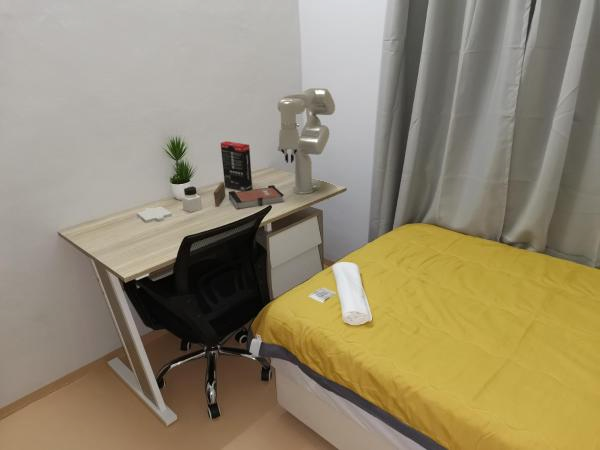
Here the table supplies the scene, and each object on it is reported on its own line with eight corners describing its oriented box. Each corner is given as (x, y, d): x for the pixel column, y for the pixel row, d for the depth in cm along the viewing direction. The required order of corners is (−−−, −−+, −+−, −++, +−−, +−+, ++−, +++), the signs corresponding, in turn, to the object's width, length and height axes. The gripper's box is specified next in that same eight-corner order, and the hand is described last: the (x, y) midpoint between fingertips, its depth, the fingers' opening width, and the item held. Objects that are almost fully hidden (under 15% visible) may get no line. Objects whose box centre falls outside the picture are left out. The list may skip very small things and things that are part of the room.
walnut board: (225, 195, 227) (224, 182, 224) (218, 206, 212) (216, 192, 208) (222, 195, 227) (221, 182, 224) (215, 206, 212) (213, 192, 209)
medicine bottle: (202, 208, 209) (199, 187, 204) (190, 212, 205) (187, 190, 200) (194, 205, 214) (191, 184, 209) (183, 209, 209) (179, 187, 204)
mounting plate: (135, 214, 205) (134, 211, 204) (160, 208, 212) (159, 204, 211) (148, 225, 192) (147, 221, 191) (174, 218, 200) (173, 214, 199)
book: (237, 210, 207) (236, 201, 205) (229, 200, 222) (228, 191, 220) (284, 203, 216) (284, 194, 214) (273, 193, 231) (273, 185, 229)
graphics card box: (253, 189, 237) (250, 143, 226) (246, 192, 231) (242, 146, 220) (231, 184, 245) (227, 140, 234) (223, 187, 240) (219, 142, 229)
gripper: (304, 124, 203) (305, 160, 211) (273, 125, 204) (275, 160, 211) (303, 127, 196) (304, 164, 204) (272, 127, 197) (273, 164, 205)
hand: (289, 161), depth 207 cm, fingers closed
